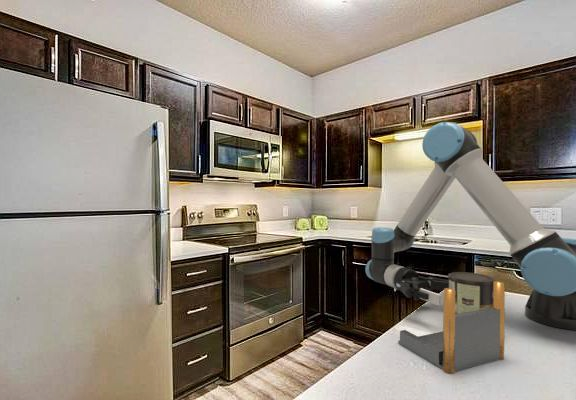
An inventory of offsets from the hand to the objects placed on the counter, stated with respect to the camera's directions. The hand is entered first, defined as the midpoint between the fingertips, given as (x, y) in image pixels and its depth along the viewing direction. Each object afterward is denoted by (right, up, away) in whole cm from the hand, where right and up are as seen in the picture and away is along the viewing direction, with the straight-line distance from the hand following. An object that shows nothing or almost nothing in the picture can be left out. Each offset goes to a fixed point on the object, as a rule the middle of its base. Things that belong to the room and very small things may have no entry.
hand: (459, 297), depth 85 cm
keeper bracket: (-10, -8, -13) cm, 18 cm away
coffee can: (+1, -8, -3) cm, 9 cm away
